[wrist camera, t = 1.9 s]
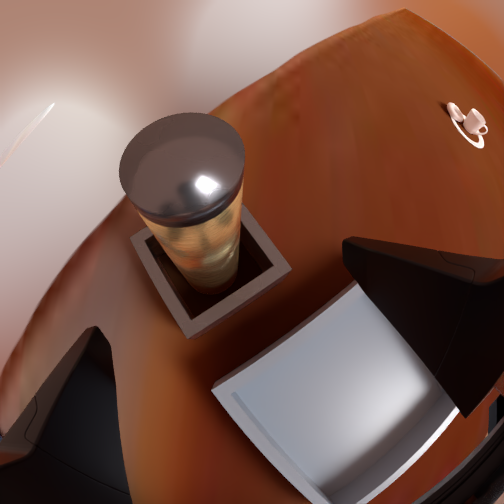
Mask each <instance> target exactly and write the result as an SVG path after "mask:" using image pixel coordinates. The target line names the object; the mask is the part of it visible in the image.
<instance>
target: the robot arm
mask: <svg viewBox="0 0 504 504" xmlns="http://www.w3.org/2000/svg"><path fill="white" fill-rule="evenodd" d="M342 253H343V263H344V265H345V267H346V268H347V269H348V271H349V272H350V274H351V275H352V276H353V278H354V279H355V280H356V282H357V283H358V285H359V286H360V287H361V289H362V290H363V292H364V293H365V294H366V295H367V297H368V298H369V299H370V300H371V301H372V302H373V304H374V305H375V306H376V307H377V308H378V309H379V310H380V312H381V313H382V314H383V315H384V316H385V317H386V318H387V320H388V321H389V322H390V323H391V324H392V326H393V327H394V328H395V329H396V330H397V331H398V333H399V334H400V335H401V336H402V337H403V339H404V340H405V341H406V342H407V343H408V345H409V346H410V347H411V348H412V350H413V351H414V352H415V353H416V355H417V356H418V357H419V358H420V359H421V361H422V362H423V363H424V365H425V366H426V367H427V368H428V370H429V371H430V372H431V373H432V375H433V376H435V377H434V378H435V379H436V380H437V381H438V383H439V384H440V385H441V387H442V388H443V389H444V391H445V392H446V393H447V395H448V396H449V397H450V399H451V400H452V401H453V403H454V404H455V406H456V407H457V408H458V410H459V411H460V413H461V414H462V415H463V416H464V418H467V417H468V416H469V415H470V414H471V413H472V412H473V411H474V410H475V409H476V407H477V406H478V405H479V404H480V403H481V402H482V401H483V400H484V399H485V397H486V396H487V395H488V394H489V393H490V392H491V390H492V389H493V388H495V389H496V390H497V391H498V392H499V393H500V395H499V396H498V397H497V398H496V400H495V401H494V402H493V403H492V404H491V406H490V407H489V428H488V436H487V437H486V438H485V439H484V440H483V441H482V442H481V443H480V444H479V445H478V447H477V448H476V449H475V450H474V451H473V452H472V453H471V454H470V455H469V456H468V457H467V458H466V459H465V460H464V461H463V462H462V463H461V464H460V465H459V466H457V467H456V468H455V469H454V470H453V471H452V472H451V473H450V474H449V475H447V476H446V477H445V478H444V479H443V480H442V481H440V482H439V483H438V484H437V485H436V486H434V487H433V488H432V489H431V490H429V491H428V492H427V493H425V494H424V495H423V496H421V497H420V498H419V499H417V500H416V501H415V502H413V503H412V504H504V259H492V258H484V257H477V256H469V255H462V254H456V253H450V252H444V251H437V250H433V249H427V248H422V247H416V246H410V245H404V244H398V243H392V242H386V241H380V240H374V239H367V238H361V237H354V236H352V237H349V238H346V239H344V240H343V242H342ZM0 504H133V503H132V499H131V496H130V491H129V487H128V482H127V477H126V472H125V466H124V460H123V454H122V447H121V439H120V431H119V421H118V410H117V395H116V382H115V375H114V368H113V360H112V351H111V346H110V343H109V342H108V340H107V339H106V337H105V336H104V334H103V333H102V332H101V330H100V329H99V328H98V327H97V326H93V327H90V328H87V329H86V330H85V331H84V332H83V333H82V335H81V336H80V337H79V338H78V339H77V341H76V342H75V343H74V344H73V346H72V347H71V348H70V349H69V351H68V352H67V353H66V354H65V356H64V357H63V358H62V359H61V361H60V362H59V363H58V364H57V366H56V367H55V368H54V370H53V371H52V372H51V374H50V375H49V376H48V378H47V379H46V380H45V382H44V383H43V384H42V386H41V387H40V388H39V390H38V391H37V393H36V396H34V397H33V398H32V400H31V401H30V402H29V404H28V405H27V407H26V408H25V409H24V411H23V412H22V414H21V415H20V416H19V418H18V419H17V420H16V422H15V423H14V424H13V425H12V427H11V428H10V429H9V431H8V432H7V433H6V435H5V436H4V438H3V439H2V440H1V442H0Z"/></svg>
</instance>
